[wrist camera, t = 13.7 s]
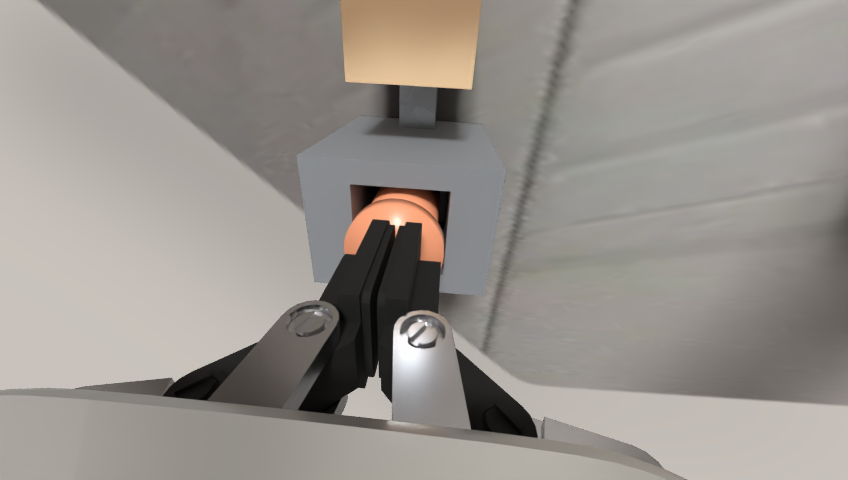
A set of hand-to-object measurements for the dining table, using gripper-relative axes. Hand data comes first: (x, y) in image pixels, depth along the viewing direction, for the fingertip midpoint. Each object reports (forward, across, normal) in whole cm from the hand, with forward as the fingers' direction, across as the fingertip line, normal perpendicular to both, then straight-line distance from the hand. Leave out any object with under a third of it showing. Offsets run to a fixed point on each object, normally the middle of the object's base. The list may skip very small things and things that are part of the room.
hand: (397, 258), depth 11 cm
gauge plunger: (+8, 0, 0) cm, 8 cm away
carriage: (+13, 0, -8) cm, 15 cm away
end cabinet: (+13, 0, 0) cm, 13 cm away
